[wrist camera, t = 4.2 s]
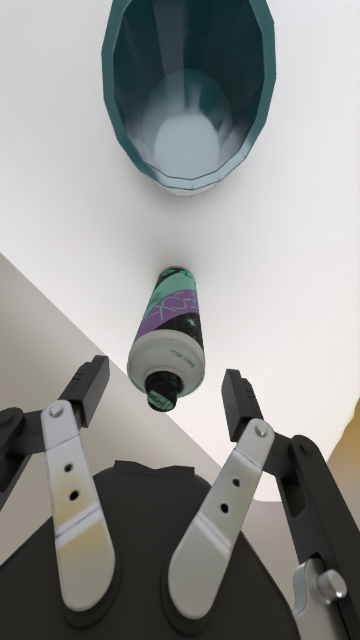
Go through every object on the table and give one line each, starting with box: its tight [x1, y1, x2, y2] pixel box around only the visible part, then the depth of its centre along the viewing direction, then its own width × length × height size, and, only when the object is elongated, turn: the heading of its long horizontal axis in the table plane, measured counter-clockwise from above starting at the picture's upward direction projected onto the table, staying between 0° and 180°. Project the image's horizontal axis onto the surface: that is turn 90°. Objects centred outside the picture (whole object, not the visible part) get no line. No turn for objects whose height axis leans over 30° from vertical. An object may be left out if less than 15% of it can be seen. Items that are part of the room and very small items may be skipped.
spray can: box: [127, 266, 205, 412], centre depth 20 cm, size 6×6×20 cm
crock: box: [101, 0, 276, 196], centre depth 17 cm, size 10×10×10 cm
